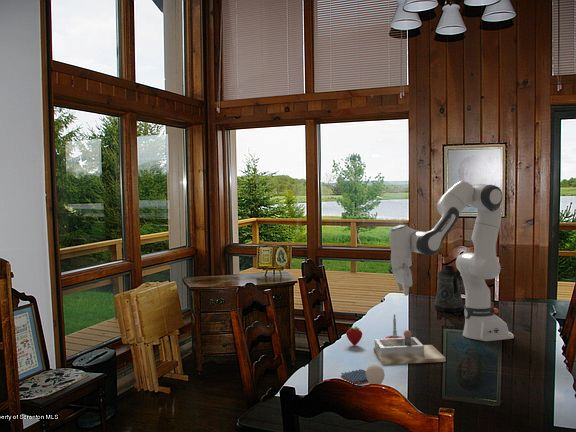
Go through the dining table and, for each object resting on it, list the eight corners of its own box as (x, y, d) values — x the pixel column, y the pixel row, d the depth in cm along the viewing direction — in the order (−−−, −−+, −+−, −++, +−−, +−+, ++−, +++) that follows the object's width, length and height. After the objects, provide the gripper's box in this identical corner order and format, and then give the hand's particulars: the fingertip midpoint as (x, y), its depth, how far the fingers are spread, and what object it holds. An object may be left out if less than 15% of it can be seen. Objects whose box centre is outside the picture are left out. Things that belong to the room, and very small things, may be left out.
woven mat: (354, 387, 187) (354, 381, 187) (339, 378, 197) (339, 372, 197) (378, 381, 192) (378, 376, 192) (363, 373, 201) (362, 368, 201)
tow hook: (385, 337, 247) (385, 342, 238) (384, 311, 247) (385, 314, 238) (403, 338, 246) (404, 342, 237) (402, 311, 246) (403, 315, 237)
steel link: (415, 346, 226) (415, 337, 226) (424, 355, 213) (423, 346, 213) (374, 347, 226) (374, 338, 226) (381, 357, 213) (380, 347, 213)
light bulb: (364, 393, 180) (363, 362, 180) (382, 391, 181) (381, 361, 180) (368, 400, 174) (367, 368, 173) (387, 399, 174) (386, 367, 174)
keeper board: (431, 348, 227) (431, 323, 227) (445, 361, 209) (445, 334, 209) (373, 350, 227) (372, 325, 226) (382, 364, 209) (381, 337, 208)
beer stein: (439, 304, 310) (438, 263, 308) (472, 308, 298) (471, 265, 297) (429, 310, 296) (428, 267, 295) (463, 314, 285) (462, 269, 284)
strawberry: (348, 342, 240) (348, 321, 239) (364, 344, 236) (363, 322, 236) (344, 346, 234) (343, 324, 234) (360, 348, 231) (359, 326, 231)
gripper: (415, 265, 216) (417, 297, 217) (402, 258, 237) (404, 287, 237) (400, 266, 216) (402, 298, 217) (389, 259, 236) (391, 289, 237)
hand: (403, 292), depth 227 cm, fingers open, 8 cm apart
